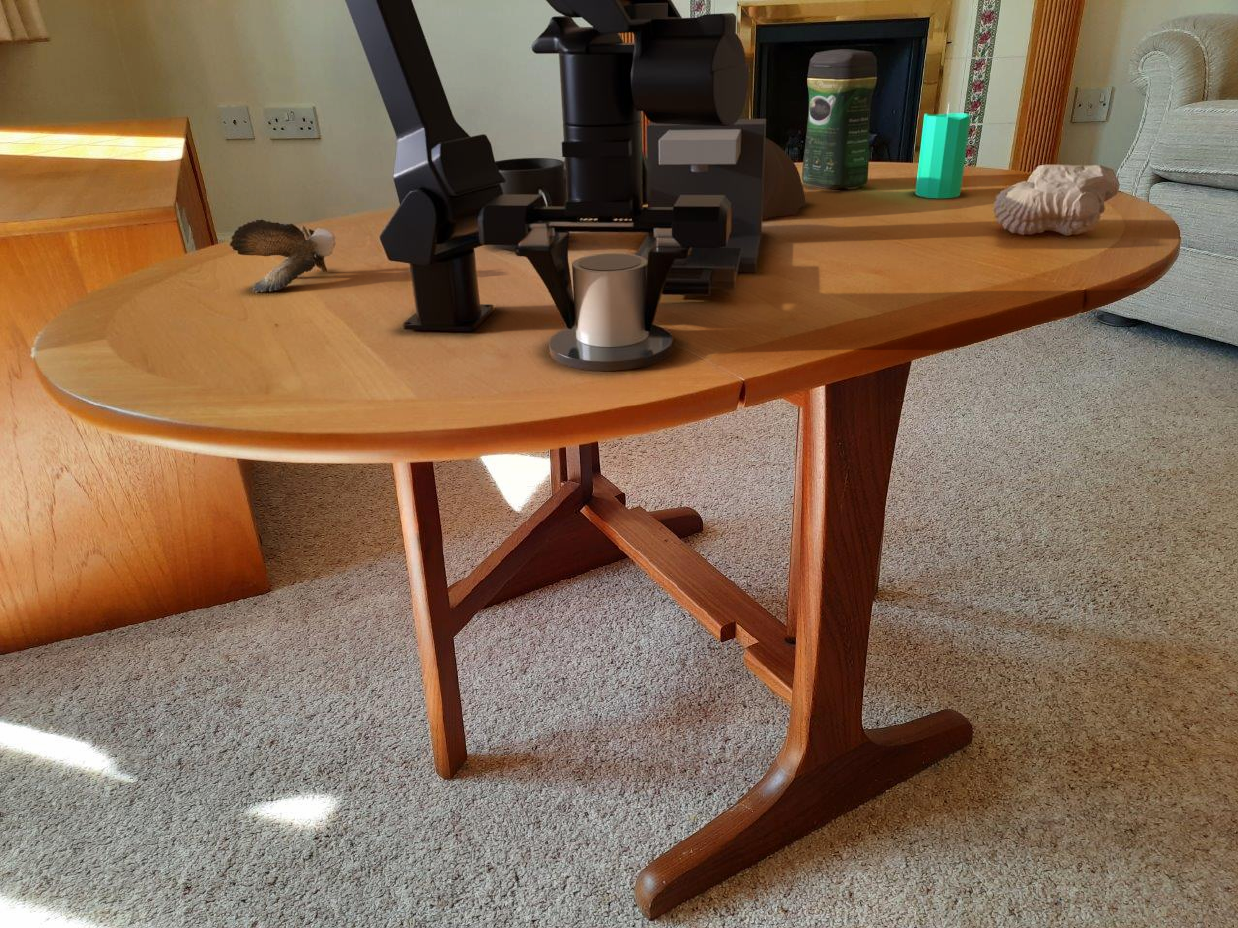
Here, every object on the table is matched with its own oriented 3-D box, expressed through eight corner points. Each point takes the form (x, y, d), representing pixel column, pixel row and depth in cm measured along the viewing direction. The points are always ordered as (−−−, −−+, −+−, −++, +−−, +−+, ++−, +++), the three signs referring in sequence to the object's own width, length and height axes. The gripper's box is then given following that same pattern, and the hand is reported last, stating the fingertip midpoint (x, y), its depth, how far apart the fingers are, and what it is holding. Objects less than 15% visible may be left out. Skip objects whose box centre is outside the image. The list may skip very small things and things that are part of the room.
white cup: (643, 348, 70) (641, 272, 67) (568, 346, 71) (563, 271, 68) (653, 324, 75) (652, 253, 72) (584, 322, 76) (580, 252, 73)
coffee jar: (876, 187, 131) (889, 48, 123) (835, 193, 128) (846, 51, 119) (832, 178, 139) (841, 47, 130) (792, 184, 135) (799, 50, 127)
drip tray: (729, 306, 77) (730, 282, 76) (616, 303, 78) (615, 280, 78) (741, 255, 92) (742, 234, 91) (646, 254, 94) (646, 234, 93)
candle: (915, 197, 123) (925, 105, 117) (915, 190, 128) (925, 100, 123) (960, 198, 121) (974, 104, 116) (959, 191, 126) (972, 100, 121)
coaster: (664, 373, 67) (664, 363, 66) (535, 369, 69) (535, 359, 68) (679, 330, 76) (679, 321, 75) (565, 327, 77) (565, 318, 77)
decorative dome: (820, 196, 126) (825, 121, 121) (782, 226, 110) (786, 141, 105) (692, 190, 133) (692, 119, 129) (639, 217, 117) (637, 137, 113)
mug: (514, 261, 99) (506, 176, 95) (480, 240, 108) (472, 162, 104) (591, 249, 102) (587, 168, 98) (551, 230, 112) (546, 155, 108)
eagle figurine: (291, 255, 99) (219, 258, 92) (313, 203, 96) (239, 201, 88) (332, 300, 98) (261, 307, 90) (355, 248, 94) (283, 251, 86)
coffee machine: (755, 272, 91) (760, 139, 85) (630, 270, 93) (627, 140, 88) (761, 234, 106) (766, 118, 101) (654, 233, 109) (652, 120, 103)
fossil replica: (976, 229, 106) (1024, 255, 98) (985, 158, 101) (1036, 179, 93) (1068, 214, 107) (1124, 239, 99) (1081, 143, 103) (1140, 162, 95)
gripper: (738, 108, 70) (733, 302, 77) (510, 112, 73) (525, 297, 80) (728, 125, 60) (723, 345, 67) (465, 128, 63) (486, 337, 70)
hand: (609, 328), depth 71 cm, fingers closed on white cup, 6 cm apart
